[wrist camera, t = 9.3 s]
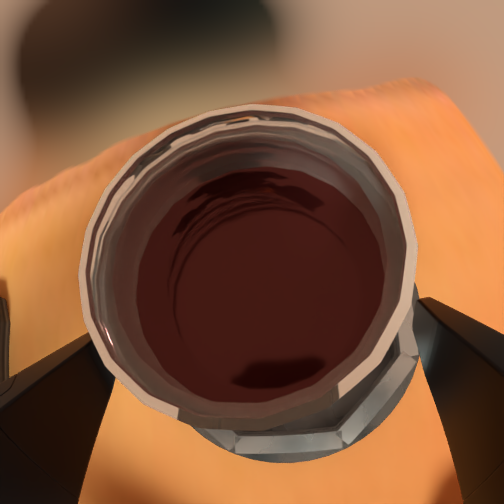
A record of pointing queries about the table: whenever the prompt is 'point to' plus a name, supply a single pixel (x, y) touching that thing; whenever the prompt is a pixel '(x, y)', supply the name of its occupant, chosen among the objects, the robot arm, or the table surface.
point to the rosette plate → (334, 411)
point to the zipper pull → (4, 340)
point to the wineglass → (248, 267)
